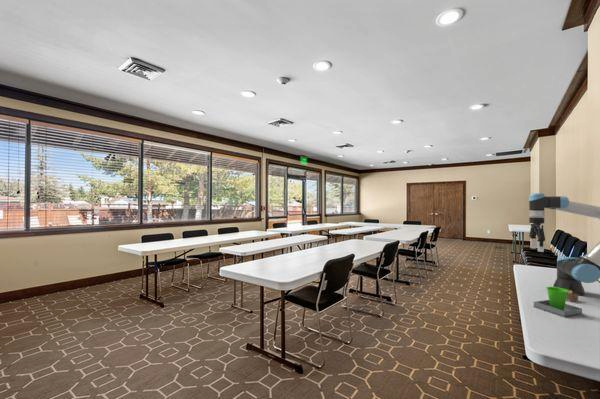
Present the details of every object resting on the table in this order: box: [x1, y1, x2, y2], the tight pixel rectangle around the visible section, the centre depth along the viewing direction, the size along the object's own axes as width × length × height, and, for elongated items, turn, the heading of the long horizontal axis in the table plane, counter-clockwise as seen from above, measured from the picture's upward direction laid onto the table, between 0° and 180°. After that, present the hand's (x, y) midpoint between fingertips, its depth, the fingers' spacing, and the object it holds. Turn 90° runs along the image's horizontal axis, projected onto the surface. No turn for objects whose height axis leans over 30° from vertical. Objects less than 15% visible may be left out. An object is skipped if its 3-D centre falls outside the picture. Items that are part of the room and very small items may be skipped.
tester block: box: [566, 293, 579, 303], centre depth 171 cm, size 7×7×4 cm
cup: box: [546, 286, 569, 310], centre depth 152 cm, size 9×9×11 cm
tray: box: [533, 299, 583, 318], centre depth 152 cm, size 14×14×3 cm
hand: (536, 250), depth 181 cm, fingers open, 13 cm apart
